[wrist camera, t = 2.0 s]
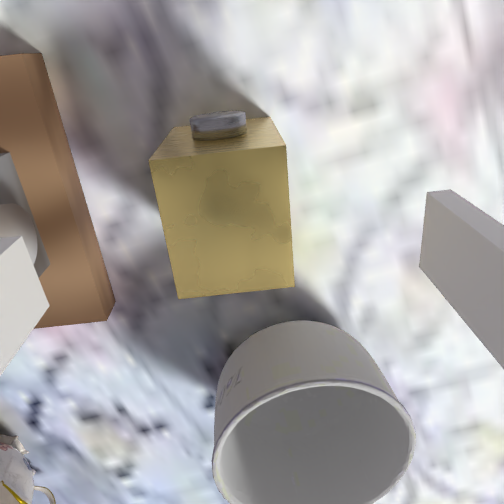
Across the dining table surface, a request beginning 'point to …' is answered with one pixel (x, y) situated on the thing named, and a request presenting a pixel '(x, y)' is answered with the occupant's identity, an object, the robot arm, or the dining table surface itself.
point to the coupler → (225, 205)
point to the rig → (47, 197)
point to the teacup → (307, 420)
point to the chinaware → (17, 474)
